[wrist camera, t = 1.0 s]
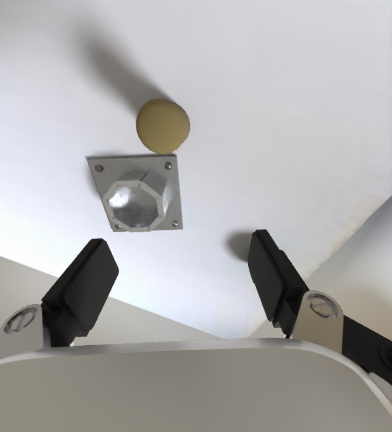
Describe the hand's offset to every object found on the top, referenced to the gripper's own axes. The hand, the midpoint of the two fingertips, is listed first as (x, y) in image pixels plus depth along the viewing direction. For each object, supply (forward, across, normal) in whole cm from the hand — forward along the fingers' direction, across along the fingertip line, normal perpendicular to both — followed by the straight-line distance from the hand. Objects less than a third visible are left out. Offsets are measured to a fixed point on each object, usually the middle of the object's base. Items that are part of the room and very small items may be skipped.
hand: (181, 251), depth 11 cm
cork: (+22, +2, -6) cm, 23 cm away
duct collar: (+21, +10, +6) cm, 24 cm away
